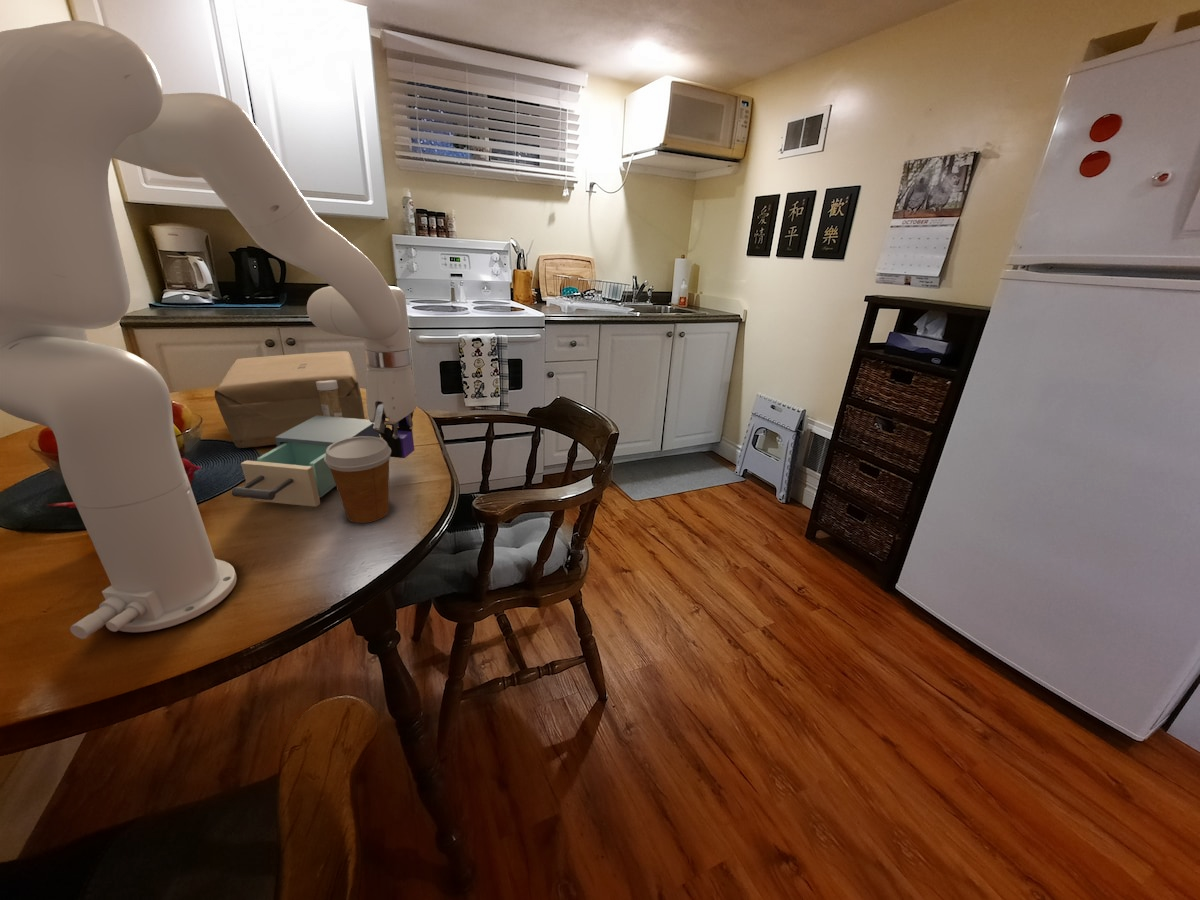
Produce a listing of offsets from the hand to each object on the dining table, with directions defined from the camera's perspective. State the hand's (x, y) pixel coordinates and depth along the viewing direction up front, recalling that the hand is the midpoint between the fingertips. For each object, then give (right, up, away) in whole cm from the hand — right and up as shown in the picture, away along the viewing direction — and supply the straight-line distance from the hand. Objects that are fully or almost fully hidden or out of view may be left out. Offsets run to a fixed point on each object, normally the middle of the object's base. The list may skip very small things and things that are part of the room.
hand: (399, 450), depth 95 cm
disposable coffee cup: (+1, -10, -14) cm, 18 cm away
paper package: (-30, +6, +19) cm, 36 cm away
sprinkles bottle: (-19, +3, +13) cm, 23 cm away
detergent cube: (0, -1, 0) cm, 0 cm away
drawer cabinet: (-12, -4, -1) cm, 12 cm away
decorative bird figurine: (-31, -12, -20) cm, 39 cm away
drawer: (-13, -8, -12) cm, 19 cm away
